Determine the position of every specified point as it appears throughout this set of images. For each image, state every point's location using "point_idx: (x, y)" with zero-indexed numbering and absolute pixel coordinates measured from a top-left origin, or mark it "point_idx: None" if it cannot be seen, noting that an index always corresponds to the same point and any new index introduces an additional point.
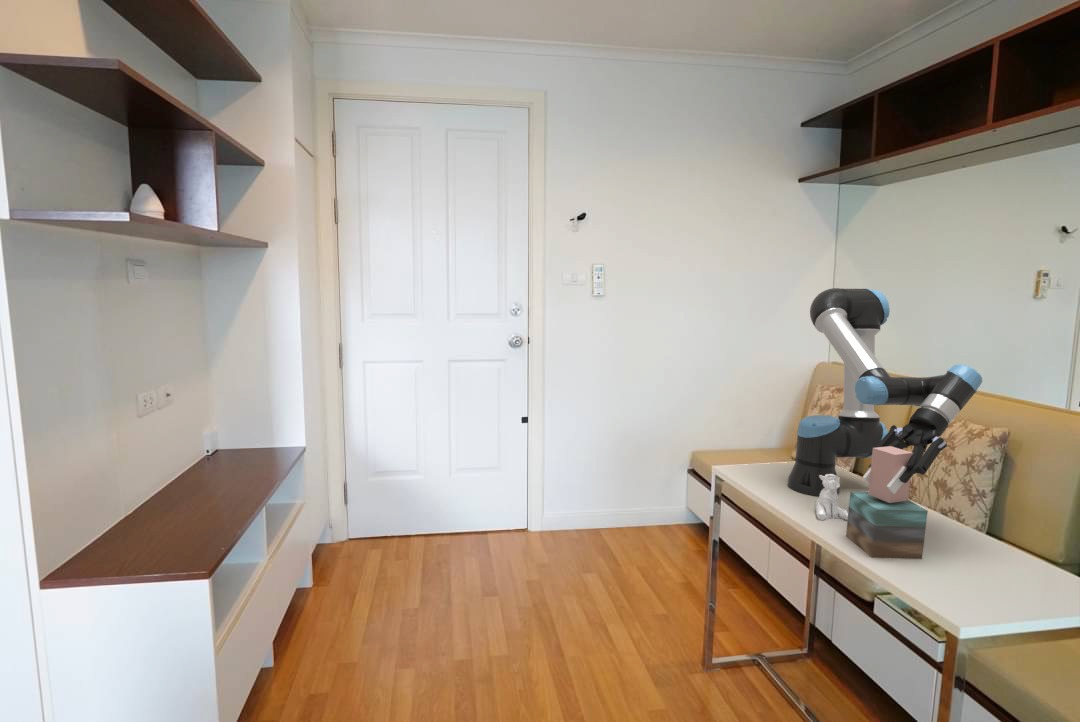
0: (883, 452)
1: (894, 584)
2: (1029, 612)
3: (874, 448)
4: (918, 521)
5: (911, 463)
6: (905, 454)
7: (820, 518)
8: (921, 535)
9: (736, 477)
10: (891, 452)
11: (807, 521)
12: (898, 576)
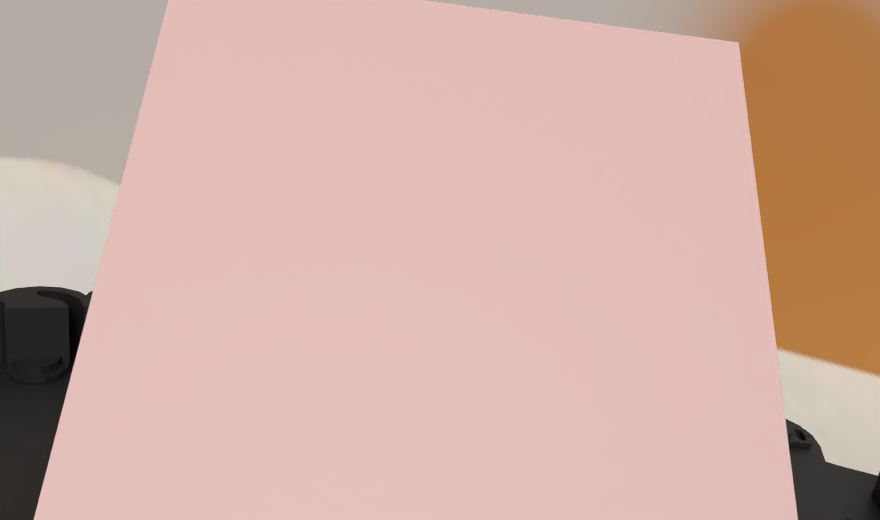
0: (463, 27)
1: (45, 166)
2: None
3: (696, 37)
4: None
5: (7, 402)
6: (100, 285)
7: None
8: None
9: None
10: (328, 60)
11: (804, 418)
12: (78, 261)
